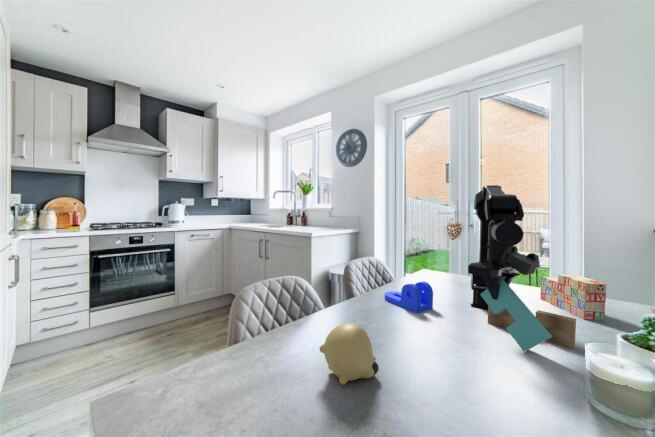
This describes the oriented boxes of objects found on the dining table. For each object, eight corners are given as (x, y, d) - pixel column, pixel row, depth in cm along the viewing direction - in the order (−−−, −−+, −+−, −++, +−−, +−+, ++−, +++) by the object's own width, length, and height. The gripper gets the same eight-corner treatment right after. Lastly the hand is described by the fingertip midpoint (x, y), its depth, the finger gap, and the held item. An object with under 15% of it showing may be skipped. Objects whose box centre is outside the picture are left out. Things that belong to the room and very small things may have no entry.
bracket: (432, 309, 98) (433, 284, 97) (416, 313, 93) (417, 287, 93) (395, 295, 113) (395, 273, 113) (380, 298, 109) (380, 275, 108)
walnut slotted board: (487, 323, 86) (488, 300, 85) (490, 321, 87) (491, 299, 87) (573, 348, 70) (574, 321, 70) (575, 345, 72) (576, 318, 72)
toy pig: (361, 407, 53) (397, 362, 56) (325, 371, 49) (364, 326, 52) (339, 377, 62) (370, 340, 65) (306, 344, 58) (341, 307, 61)
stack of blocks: (539, 299, 111) (540, 268, 111) (556, 299, 110) (557, 269, 110) (584, 320, 90) (585, 282, 89) (605, 321, 89) (607, 283, 89)
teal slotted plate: (480, 294, 78) (498, 280, 74) (485, 293, 80) (503, 279, 75) (523, 351, 68) (547, 338, 64) (528, 349, 69) (552, 336, 65)
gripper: (511, 247, 63) (509, 314, 64) (553, 243, 72) (550, 302, 73) (467, 241, 73) (465, 300, 74) (508, 239, 82) (506, 291, 82)
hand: (498, 298), depth 75 cm, fingers closed on teal slotted plate, 3 cm apart
